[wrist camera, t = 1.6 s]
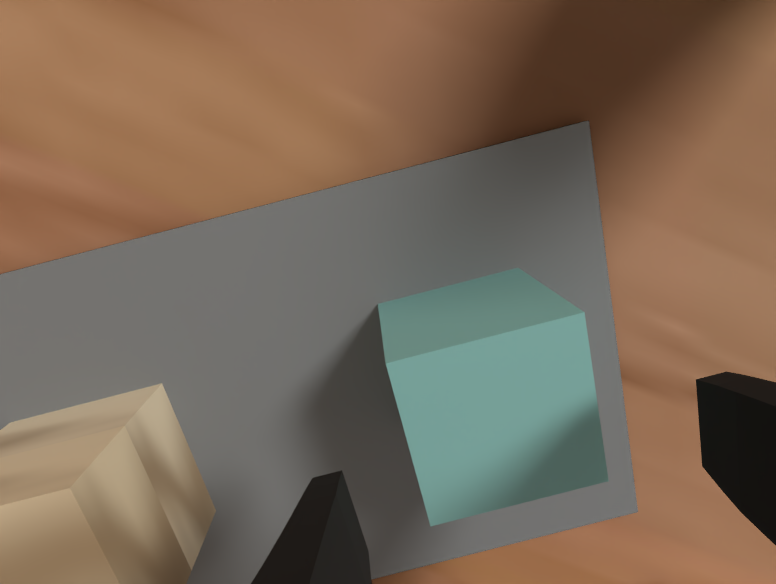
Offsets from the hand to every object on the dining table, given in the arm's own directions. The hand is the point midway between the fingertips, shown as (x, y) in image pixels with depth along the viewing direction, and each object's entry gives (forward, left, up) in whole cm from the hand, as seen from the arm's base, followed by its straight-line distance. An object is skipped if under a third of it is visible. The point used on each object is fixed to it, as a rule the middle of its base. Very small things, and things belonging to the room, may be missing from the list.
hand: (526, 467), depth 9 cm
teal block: (0, 0, -6) cm, 6 cm away
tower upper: (-1, +12, -4) cm, 13 cm away
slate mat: (-1, +6, -7) cm, 9 cm away
